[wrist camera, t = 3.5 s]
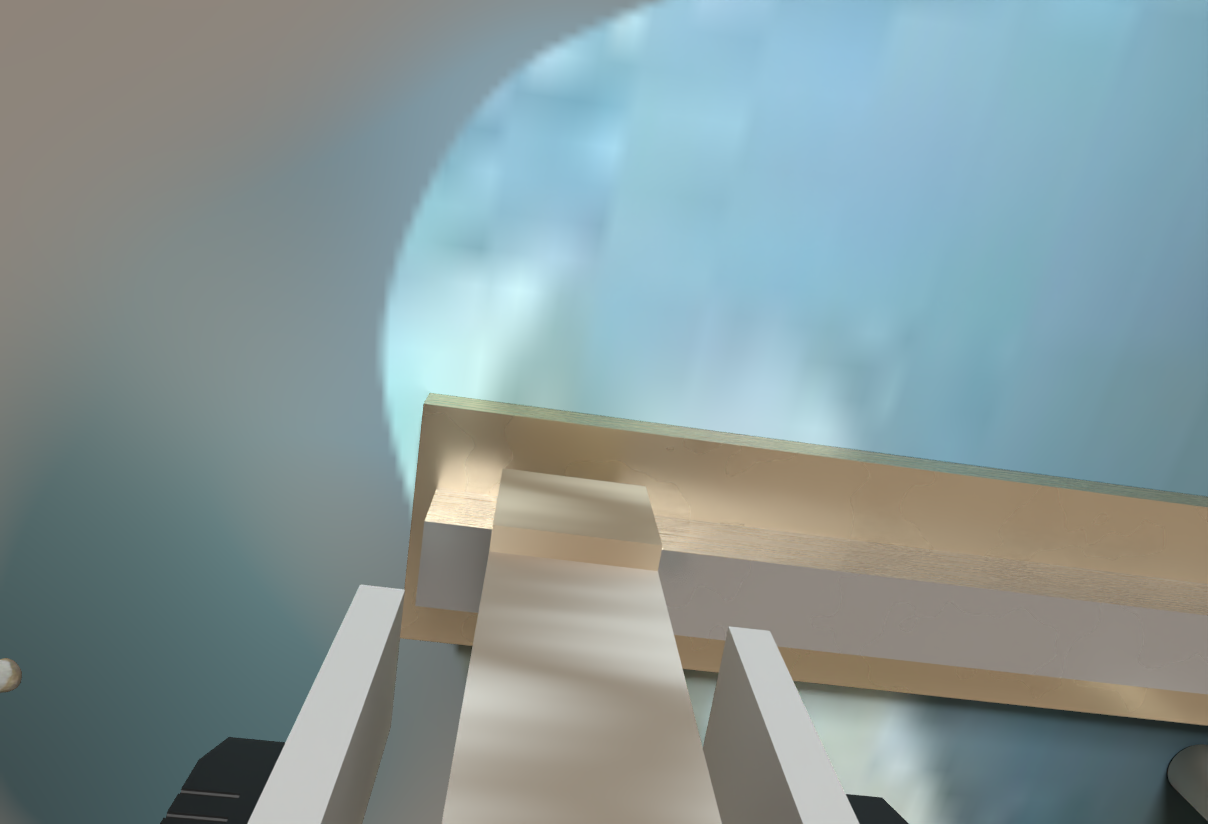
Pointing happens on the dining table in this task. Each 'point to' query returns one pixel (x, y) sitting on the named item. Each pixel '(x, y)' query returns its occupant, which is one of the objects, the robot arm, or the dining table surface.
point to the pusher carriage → (576, 669)
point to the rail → (832, 509)
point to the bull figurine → (9, 675)
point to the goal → (1191, 776)
